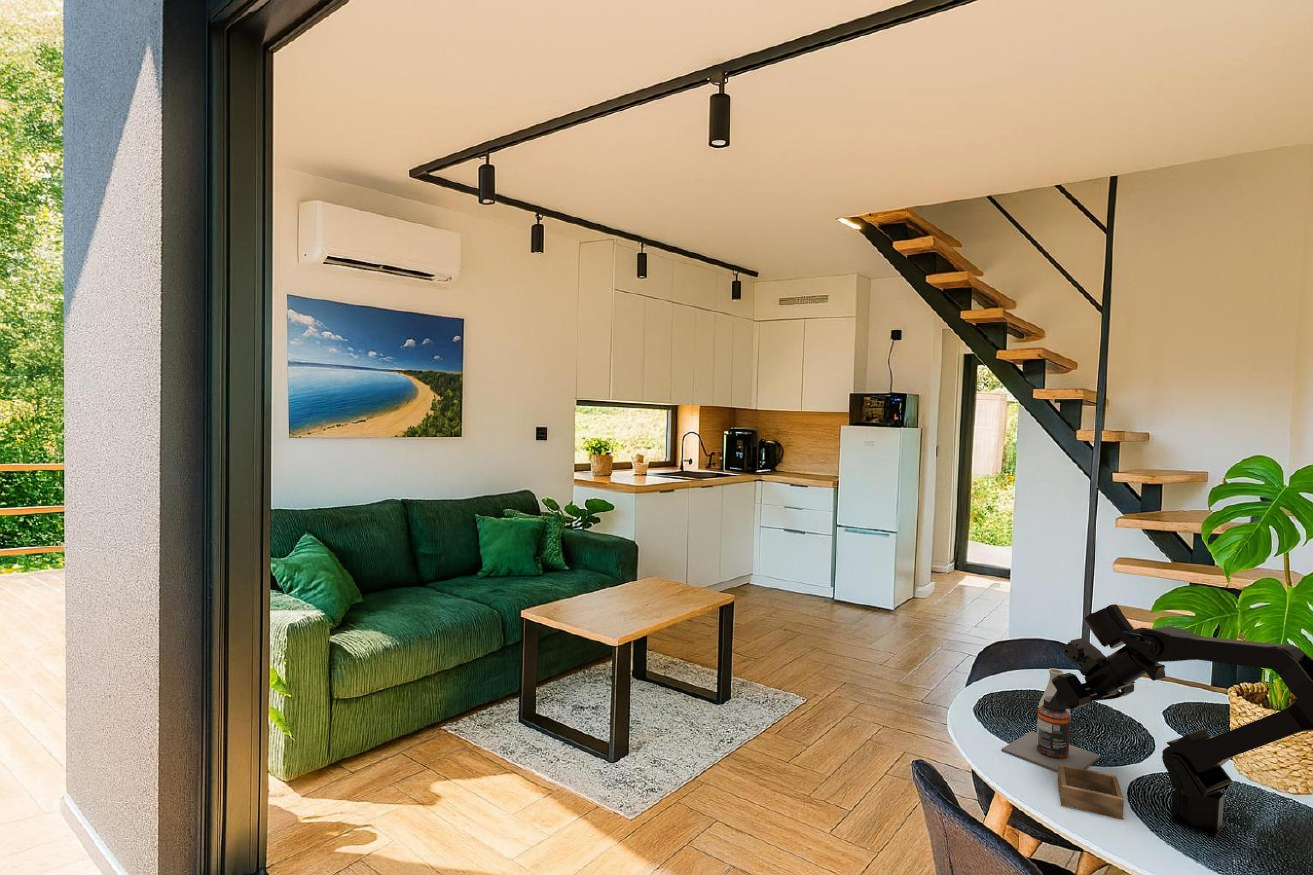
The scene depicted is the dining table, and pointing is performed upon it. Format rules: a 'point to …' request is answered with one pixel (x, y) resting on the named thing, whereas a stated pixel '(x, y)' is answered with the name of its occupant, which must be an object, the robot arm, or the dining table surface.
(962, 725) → the dining table surface
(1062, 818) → the dining table surface
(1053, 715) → the supplement bottle
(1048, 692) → the flask
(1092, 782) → the walnut box
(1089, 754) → the grey-brown square block
